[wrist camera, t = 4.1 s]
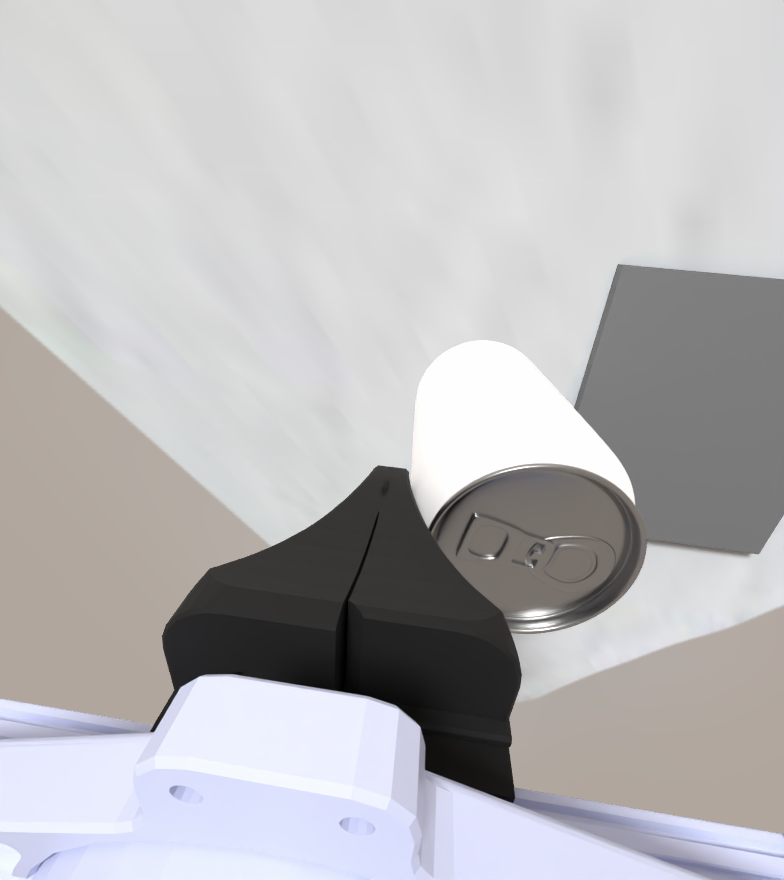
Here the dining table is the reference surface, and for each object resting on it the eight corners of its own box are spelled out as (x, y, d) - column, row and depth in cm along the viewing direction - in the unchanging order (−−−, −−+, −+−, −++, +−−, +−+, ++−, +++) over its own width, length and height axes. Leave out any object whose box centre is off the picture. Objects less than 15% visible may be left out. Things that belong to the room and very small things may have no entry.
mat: (751, 547, 23) (758, 554, 23) (540, 518, 24) (542, 525, 24) (909, 291, 17) (924, 292, 17) (618, 264, 18) (623, 265, 17)
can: (511, 467, 23) (588, 666, 12) (401, 436, 22) (379, 612, 12) (562, 359, 20) (724, 492, 9) (437, 321, 20) (453, 414, 9)
